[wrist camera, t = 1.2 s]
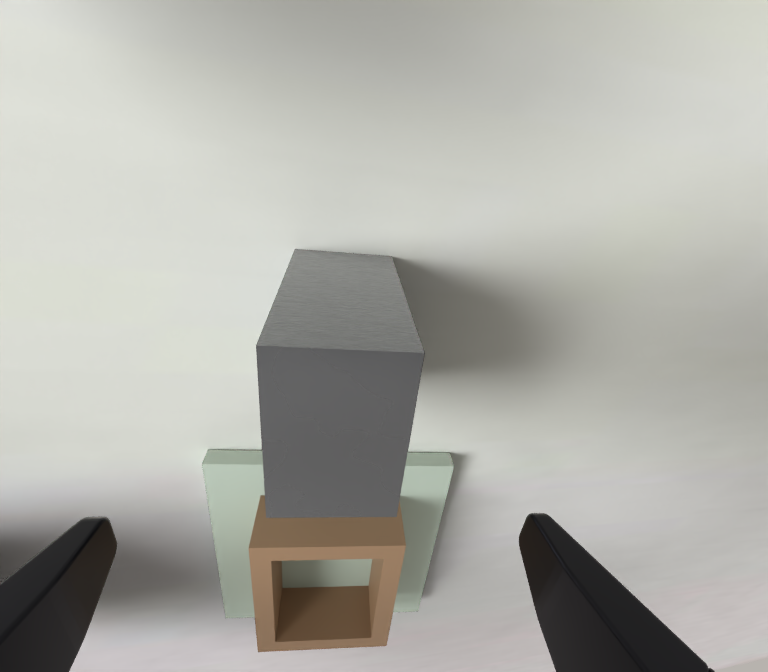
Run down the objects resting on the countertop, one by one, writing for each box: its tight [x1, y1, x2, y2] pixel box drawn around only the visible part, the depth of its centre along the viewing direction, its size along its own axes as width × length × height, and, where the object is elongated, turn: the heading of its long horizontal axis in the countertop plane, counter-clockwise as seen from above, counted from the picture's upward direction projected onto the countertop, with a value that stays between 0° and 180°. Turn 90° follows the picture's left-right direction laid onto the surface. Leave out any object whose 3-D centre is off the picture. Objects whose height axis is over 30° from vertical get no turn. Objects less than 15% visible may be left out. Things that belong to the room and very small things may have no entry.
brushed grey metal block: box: [256, 249, 425, 518], centre depth 14 cm, size 4×6×8 cm, turn 174°
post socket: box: [202, 450, 454, 652], centre depth 23 cm, size 13×14×4 cm
